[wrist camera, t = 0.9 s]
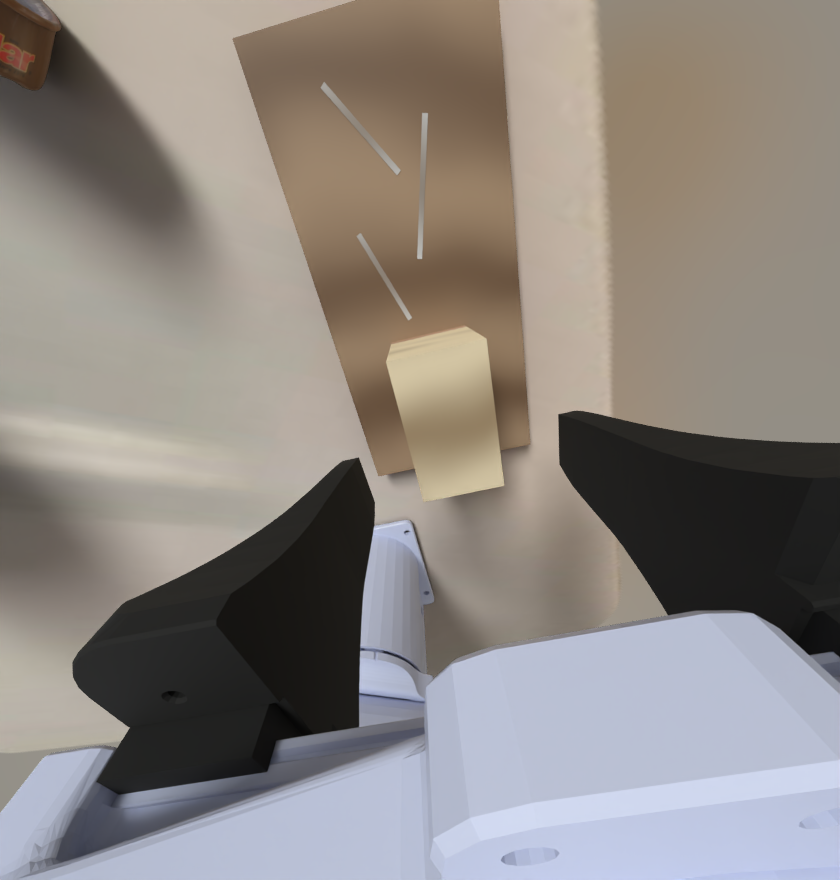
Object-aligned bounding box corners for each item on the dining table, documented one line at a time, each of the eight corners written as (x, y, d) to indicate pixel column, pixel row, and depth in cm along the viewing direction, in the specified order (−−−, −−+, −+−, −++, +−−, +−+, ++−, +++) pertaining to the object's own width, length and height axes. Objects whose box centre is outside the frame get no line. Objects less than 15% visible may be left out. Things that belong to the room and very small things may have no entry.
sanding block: (481, 440, 19) (504, 485, 15) (419, 453, 20) (423, 502, 15) (464, 325, 16) (486, 338, 12) (391, 342, 17) (385, 361, 12)
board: (522, 434, 21) (530, 444, 20) (380, 464, 22) (378, 476, 20) (485, -7, 12) (495, -44, 11) (250, 64, 13) (232, 38, 12)
